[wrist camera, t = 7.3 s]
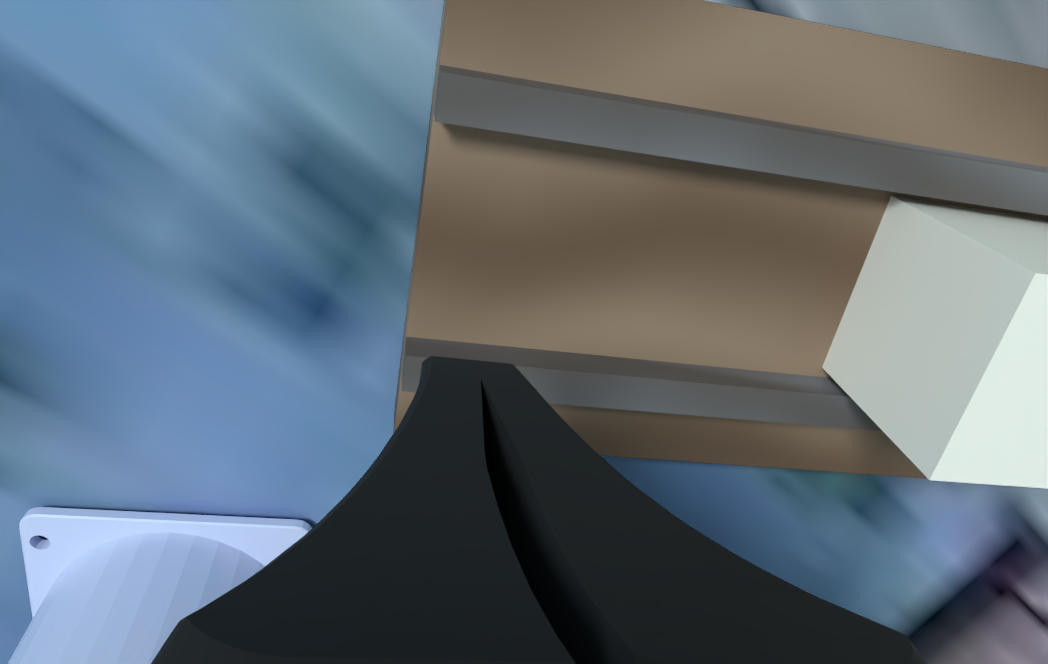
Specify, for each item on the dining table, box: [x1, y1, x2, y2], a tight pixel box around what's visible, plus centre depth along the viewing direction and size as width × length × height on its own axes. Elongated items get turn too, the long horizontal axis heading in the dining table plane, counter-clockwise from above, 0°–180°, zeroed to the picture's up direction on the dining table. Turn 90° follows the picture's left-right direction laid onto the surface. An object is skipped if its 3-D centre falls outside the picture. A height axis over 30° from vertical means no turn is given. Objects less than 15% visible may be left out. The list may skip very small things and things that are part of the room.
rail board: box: [394, 0, 1048, 478], centre depth 19 cm, size 12×22×4 cm, turn 79°
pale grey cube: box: [822, 196, 1048, 488], centre depth 18 cm, size 5×5×5 cm
